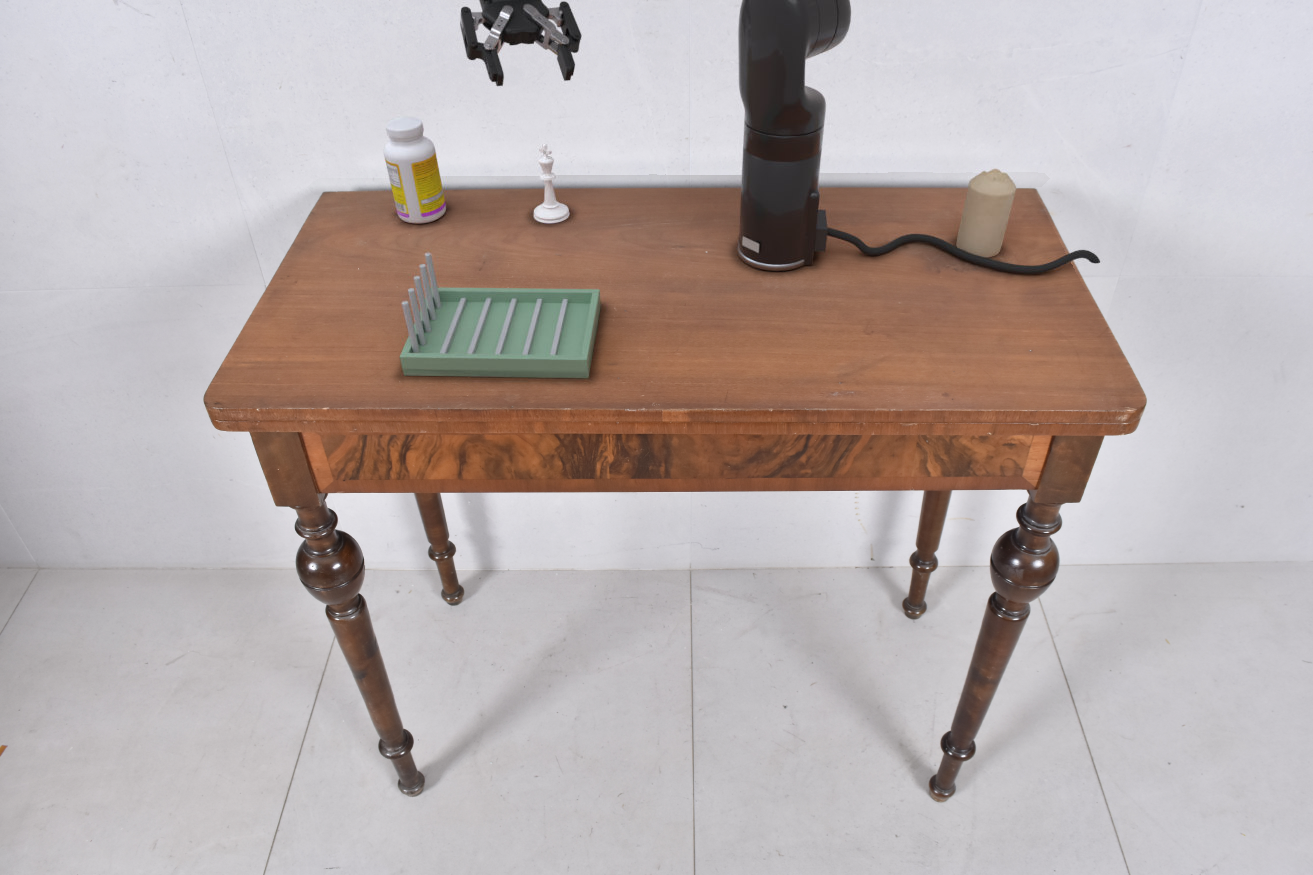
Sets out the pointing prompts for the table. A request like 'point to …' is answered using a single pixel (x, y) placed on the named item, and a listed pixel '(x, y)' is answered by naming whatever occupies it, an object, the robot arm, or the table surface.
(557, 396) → the table surface
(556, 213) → the chess piece
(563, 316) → the dish rack
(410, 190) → the supplement bottle
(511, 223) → the table surface
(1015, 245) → the table surface
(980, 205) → the candle
